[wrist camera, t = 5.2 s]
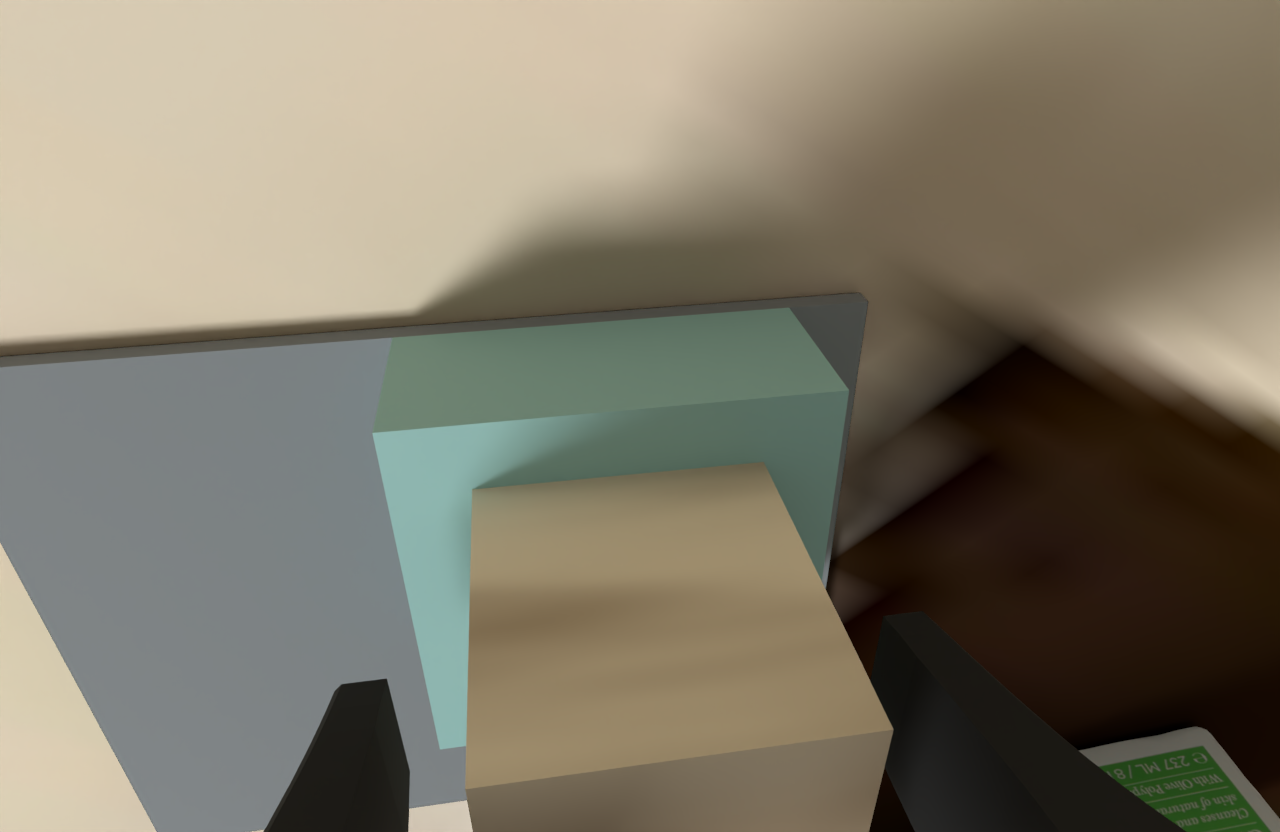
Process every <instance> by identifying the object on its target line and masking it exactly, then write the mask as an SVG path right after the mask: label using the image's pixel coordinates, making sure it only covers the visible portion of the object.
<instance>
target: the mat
mask: <svg viewBox="0 0 1280 832" xmlns="http://www.w3.org/2000/svg"><path fill="white" fill-rule="evenodd" d="M867 306H868V301H867V300H866V299H865V298H864V296H863V295H862V294H861V293H850V294H837V295H823V296H810V297H797V298H783V299H770V300H756V301H743V302H729V303H716V304H702V305H689V306H676V307H662V308H649V309H635V310H622V311H608V312H595V313H581V314H568V315H555V316H541V317H528V318H514V319H501V320H487V321H474V322H460V323H447V324H434V325H420V326H407V327H393V328H380V329H366V330H353V331H339V332H326V333H313V334H299V335H286V336H272V337H259V338H245V339H232V340H218V341H205V342H192V343H178V344H165V345H151V346H138V347H124V348H111V349H97V350H84V351H71V352H57V353H44V354H30V355H17V356H3V357H0V543H1V545H2V547H3V548H4V550H5V552H6V554H7V556H8V558H9V559H10V561H11V563H12V565H13V567H14V569H15V571H16V572H17V574H18V576H19V578H20V580H21V582H22V583H23V585H24V587H25V589H26V591H27V593H28V595H29V596H30V598H31V600H32V602H33V604H34V606H35V608H36V609H37V611H38V613H39V615H40V617H41V619H42V620H43V622H44V624H45V626H46V628H47V630H48V632H49V633H50V635H51V637H52V639H53V641H54V643H55V644H56V646H57V648H58V650H59V652H60V654H61V656H62V657H63V659H64V661H65V663H66V665H67V667H68V668H69V670H70V672H71V674H72V676H73V678H74V680H75V681H76V683H77V685H78V687H79V689H80V691H81V692H82V694H83V696H84V698H85V700H86V702H87V704H88V705H89V707H90V709H91V711H92V713H93V715H94V717H95V718H96V720H97V722H98V724H99V726H100V728H101V729H102V731H103V733H104V735H105V737H106V739H107V741H108V742H109V744H110V746H111V748H112V750H113V752H114V753H115V755H116V757H117V759H118V761H119V763H120V765H121V766H122V768H123V770H124V772H125V774H126V776H127V777H128V779H129V781H130V783H131V785H132V787H133V789H134V790H135V792H136V794H137V796H138V798H139V800H140V802H141V803H142V805H143V807H144V809H145V811H146V813H147V814H148V816H149V818H150V820H151V822H152V824H153V826H154V827H155V829H156V831H157V832H250V831H257V830H264V829H265V828H266V827H267V825H268V823H269V821H270V819H271V818H272V816H273V814H274V812H275V810H276V808H277V807H278V805H279V803H280V801H281V799H282V798H283V796H284V794H285V792H286V790H287V788H288V787H289V785H290V783H291V781H292V779H293V777H294V775H295V773H296V771H297V769H298V767H299V765H300V763H301V762H302V760H303V758H304V756H305V754H306V752H307V750H308V748H309V746H310V744H311V742H312V740H313V737H314V735H315V733H316V731H317V729H318V727H319V725H320V723H321V720H322V718H323V716H324V714H325V712H326V710H327V707H328V705H329V703H330V700H331V698H332V696H333V693H334V691H335V690H336V689H337V688H338V687H339V686H340V685H341V684H347V683H355V682H363V681H371V680H379V679H387V681H388V685H389V689H390V693H391V697H392V701H393V705H394V709H395V713H396V717H397V721H398V725H399V729H400V733H401V737H402V741H403V745H404V749H405V753H406V757H407V761H408V765H409V769H410V788H409V808H416V807H423V806H430V805H437V804H443V803H450V802H457V801H464V800H467V796H466V791H465V776H466V746H462V747H455V748H448V749H440V747H439V742H438V738H437V733H436V728H435V724H434V719H433V714H432V710H431V705H430V700H429V696H428V691H427V686H426V682H425V677H424V672H423V668H422V663H421V658H420V654H419V649H418V644H417V640H416V635H415V630H414V626H413V621H412V616H411V612H410V607H409V602H408V598H407V593H406V588H405V584H404V579H403V574H402V570H401V565H400V560H399V556H398V551H397V546H396V542H395V537H394V532H393V527H392V523H391V518H390V513H389V509H388V504H387V499H386V495H385V490H384V485H383V481H382V476H381V471H380V467H379V462H378V457H377V453H376V448H375V443H374V439H373V434H372V432H373V427H374V422H375V418H376V413H377V408H378V403H379V399H380V394H381V389H382V384H383V379H384V375H385V370H386V365H387V360H388V356H389V351H390V346H391V341H392V338H394V337H407V336H421V335H434V334H447V333H460V332H473V331H487V330H500V329H513V328H526V327H539V326H552V325H566V324H579V323H592V322H605V321H618V320H632V319H645V318H658V317H671V316H684V315H698V314H711V313H724V312H737V311H750V310H763V309H777V308H790V310H791V311H792V312H793V314H794V315H795V316H796V318H797V319H798V321H799V322H800V323H801V325H802V326H803V327H804V329H805V330H806V332H807V333H808V334H809V336H810V337H811V338H812V340H813V341H814V343H815V344H816V345H817V347H818V348H819V349H820V351H821V352H822V354H823V355H824V356H825V358H826V359H827V360H828V362H829V363H830V365H831V366H832V367H833V369H834V370H835V371H836V373H837V374H838V376H839V377H840V378H841V380H842V381H843V383H844V384H845V385H846V387H847V388H848V389H849V395H848V402H847V409H846V416H845V423H844V430H843V437H842V444H841V451H840V458H839V465H838V472H837V479H836V486H835V493H834V500H833V507H832V514H831V521H830V528H829V535H828V542H827V549H826V556H825V563H824V570H823V577H822V583H823V585H824V587H825V589H826V584H827V578H828V571H829V564H830V557H831V551H832V544H833V537H834V530H835V523H836V517H837V510H838V503H839V496H840V489H841V483H842V476H843V469H844V462H845V456H846V449H847V442H848V435H849V428H850V422H851V415H852V408H853V401H854V395H855V388H856V381H857V374H858V367H859V361H860V354H861V347H862V340H863V334H864V327H865V320H866V313H867Z"/></svg>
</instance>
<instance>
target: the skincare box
mask: <svg viewBox="0 0 1280 832" xmlns="http://www.w3.org/2000/svg"><path fill="white" fill-rule="evenodd" d="M1078 751H1079V752H1081V753H1082V754H1083V755H1084V756H1086V757H1087V758H1088V759H1089V760H1091V761H1092V762H1093V763H1094V764H1096V765H1097V766H1098V767H1100V768H1101V769H1102V770H1103V771H1105V772H1106V773H1107V774H1108V775H1110V776H1111V777H1112V778H1113V779H1115V780H1116V781H1117V782H1119V783H1120V784H1121V785H1122V786H1124V787H1125V788H1126V789H1128V790H1129V791H1130V792H1132V793H1133V794H1134V795H1136V796H1137V797H1138V798H1140V799H1141V800H1143V801H1144V802H1145V803H1147V804H1148V805H1149V806H1151V807H1152V808H1154V809H1155V810H1157V811H1158V812H1159V813H1161V814H1162V815H1164V816H1165V817H1166V818H1168V819H1169V820H1171V821H1172V822H1174V823H1175V824H1176V825H1178V826H1179V827H1181V828H1182V829H1183V830H1185V831H1186V832H1280V819H1279V818H1278V816H1277V815H1276V814H1275V813H1274V811H1273V810H1272V809H1271V808H1270V806H1269V805H1268V804H1267V803H1266V801H1265V800H1264V799H1263V798H1262V796H1261V795H1260V794H1259V793H1258V792H1257V790H1256V789H1255V788H1254V787H1253V786H1252V785H1251V783H1250V782H1249V781H1248V780H1247V779H1246V778H1245V776H1244V775H1243V774H1242V772H1241V771H1240V770H1239V768H1238V767H1237V766H1236V765H1235V763H1234V762H1233V761H1232V760H1231V758H1230V757H1229V756H1228V755H1227V753H1226V752H1225V751H1224V749H1223V748H1222V747H1221V746H1220V744H1219V743H1218V742H1217V741H1216V740H1215V738H1214V737H1213V736H1212V735H1211V734H1210V733H1209V732H1208V731H1207V730H1206V729H1203V728H1200V727H1190V728H1184V729H1180V730H1176V731H1172V732H1168V733H1164V734H1161V735H1155V736H1149V737H1143V738H1137V739H1132V740H1126V741H1121V742H1116V743H1111V744H1106V745H1101V746H1097V747H1093V748H1088V749H1083V750H1078Z"/></svg>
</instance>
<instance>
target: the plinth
mask: <svg viewBox="0 0 1280 832" xmlns="http://www.w3.org/2000/svg"><path fill="white" fill-rule="evenodd" d="M848 395H849V389H848V388H847V387H846V385H845V384H844V383H843V381H842V380H841V378H840V377H839V376H838V374H837V373H836V371H835V370H834V369H833V367H832V366H831V365H830V363H829V362H828V360H827V359H826V358H825V356H824V355H823V354H822V352H821V351H820V349H819V348H818V347H817V345H816V344H815V343H814V341H813V340H812V338H811V337H810V336H809V334H808V333H807V332H806V330H805V329H804V327H803V326H802V325H801V323H800V322H799V321H798V319H797V318H796V316H795V315H794V314H793V312H792V311H791V310H790V308H777V309H763V310H750V311H737V312H724V313H711V314H698V315H684V316H671V317H658V318H645V319H632V320H618V321H605V322H592V323H579V324H566V325H552V326H539V327H526V328H513V329H500V330H487V331H473V332H460V333H447V334H434V335H421V336H407V337H394V338H392V341H391V346H390V351H389V356H388V360H387V365H386V370H385V375H384V379H383V384H382V389H381V394H380V399H379V403H378V408H377V413H376V418H375V422H374V427H373V432H372V434H373V439H374V443H375V448H376V453H377V457H378V462H379V467H380V471H381V476H382V481H383V485H384V490H385V495H386V499H387V504H388V509H389V513H390V518H391V523H392V527H393V532H394V537H395V542H396V546H397V551H398V556H399V560H400V565H401V570H402V574H403V579H404V584H405V588H406V593H407V598H408V602H409V607H410V612H411V616H412V621H413V626H414V630H415V635H416V640H417V644H418V649H419V654H420V658H421V663H422V668H423V672H424V677H425V682H426V686H427V691H428V696H429V700H430V705H431V710H432V714H433V719H434V724H435V728H436V733H437V738H438V742H439V747H440V749H448V748H455V747H462V746H466V733H467V690H468V646H469V603H470V560H471V517H472V489H482V488H493V487H503V486H514V485H525V484H535V483H546V482H557V481H567V480H578V479H588V478H599V477H610V476H620V475H631V474H642V473H652V472H663V471H673V470H684V469H695V468H705V467H716V466H726V465H737V464H748V463H758V462H764V464H765V466H766V468H767V470H768V472H769V474H770V476H771V478H772V480H773V482H774V484H775V486H776V488H777V490H778V493H779V495H780V497H781V499H782V501H783V503H784V505H785V507H786V509H787V511H788V513H789V515H790V517H791V519H792V521H793V523H794V525H795V528H796V530H797V532H798V534H799V536H800V538H801V540H802V542H803V544H804V546H805V548H806V550H807V552H808V554H809V556H810V558H811V560H812V563H813V565H814V567H815V569H816V571H817V573H818V575H819V577H820V579H821V581H822V577H823V570H824V563H825V556H826V549H827V542H828V535H829V528H830V521H831V514H832V507H833V500H834V493H835V486H836V479H837V472H838V465H839V458H840V451H841V444H842V437H843V430H844V423H845V416H846V409H847V402H848Z"/></svg>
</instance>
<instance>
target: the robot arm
mask: <svg viewBox="0 0 1280 832" xmlns="http://www.w3.org/2000/svg"><path fill="white" fill-rule="evenodd" d="M870 682H871V684H872V686H873V688H874V690H875V692H876V694H877V696H878V698H879V701H880V703H881V705H882V707H883V709H884V711H885V713H886V715H887V717H888V719H889V721H890V723H891V725H892V727H893V729H894V730H893V734H892V738H891V742H890V747H889V751H888V755H887V759H886V763H885V768H886V770H887V773H888V776H889V778H890V780H891V782H892V784H893V786H894V789H895V791H896V793H897V795H898V797H899V799H900V801H901V803H902V805H903V808H904V810H905V812H906V814H907V816H908V818H909V820H910V822H911V824H912V826H913V829H914V831H915V832H1186V831H1185V830H1183V829H1182V828H1181V827H1179V826H1178V825H1176V824H1175V823H1174V822H1172V821H1171V820H1169V819H1168V818H1166V817H1165V816H1164V815H1162V814H1161V813H1159V812H1158V811H1157V810H1155V809H1154V808H1152V807H1151V806H1149V805H1148V804H1147V803H1145V802H1144V801H1143V800H1141V799H1140V798H1138V797H1137V796H1136V795H1134V794H1133V793H1132V792H1130V791H1129V790H1128V789H1126V788H1125V787H1124V786H1122V785H1121V784H1120V783H1119V782H1117V781H1116V780H1115V779H1113V778H1112V777H1111V776H1110V775H1108V774H1107V773H1106V772H1105V771H1103V770H1102V769H1101V768H1100V767H1098V766H1097V765H1096V764H1094V763H1093V762H1092V761H1091V760H1089V759H1088V758H1087V757H1086V756H1084V755H1083V754H1082V753H1081V752H1079V751H1078V750H1077V749H1076V748H1075V747H1073V746H1072V745H1071V744H1070V743H1069V742H1067V741H1066V740H1065V739H1064V738H1063V737H1061V736H1060V735H1059V734H1058V733H1057V732H1055V731H1054V730H1053V729H1052V728H1051V727H1050V726H1049V725H1047V724H1046V723H1045V722H1044V721H1043V720H1042V719H1041V718H1039V717H1038V716H1037V715H1036V714H1035V713H1034V712H1032V711H1031V710H1030V709H1029V708H1028V707H1027V706H1026V705H1024V704H1023V703H1022V702H1021V701H1020V700H1019V699H1017V698H1016V697H1015V696H1014V695H1013V694H1012V693H1011V692H1010V691H1009V690H1007V689H1006V688H1005V687H1004V686H1003V685H1002V684H1001V683H1000V682H999V681H997V680H996V679H995V678H994V677H993V676H992V675H991V674H990V673H989V672H988V671H987V670H985V669H984V668H983V667H982V666H981V665H980V664H979V663H978V662H977V661H976V660H975V659H974V658H972V657H971V656H970V655H969V654H968V653H967V652H966V651H965V650H964V649H963V648H962V647H961V646H960V645H958V644H957V643H956V642H955V641H954V640H953V639H952V638H951V637H950V636H949V635H948V634H947V633H946V632H944V631H943V630H942V629H941V628H940V627H939V626H938V625H937V624H936V623H935V622H934V621H932V620H931V619H930V618H929V617H928V616H927V615H926V614H925V613H924V612H923V611H921V612H913V613H905V614H897V615H889V616H883V621H882V626H881V631H880V636H879V641H878V646H877V651H876V656H875V661H874V666H873V671H872V676H871V681H870ZM409 788H410V769H409V765H408V761H407V757H406V753H405V749H404V745H403V741H402V737H401V733H400V729H399V725H398V721H397V717H396V713H395V709H394V705H393V701H392V697H391V693H390V689H389V685H388V681H387V679H379V680H371V681H363V682H355V683H347V684H341V685H340V686H339V687H338V688H337V689H336V690H335V691H334V693H333V696H332V698H331V700H330V703H329V705H328V707H327V710H326V712H325V714H324V716H323V718H322V720H321V723H320V725H319V727H318V729H317V731H316V733H315V735H314V737H313V740H312V742H311V744H310V746H309V748H308V750H307V752H306V754H305V756H304V758H303V760H302V762H301V763H300V765H299V767H298V769H297V771H296V773H295V775H294V777H293V779H292V781H291V783H290V785H289V787H288V788H287V790H286V792H285V794H284V796H283V798H282V799H281V801H280V803H279V805H278V807H277V808H276V810H275V812H274V814H273V816H272V818H271V819H270V821H269V823H268V825H267V827H266V828H265V830H264V832H408V822H409Z"/></svg>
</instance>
